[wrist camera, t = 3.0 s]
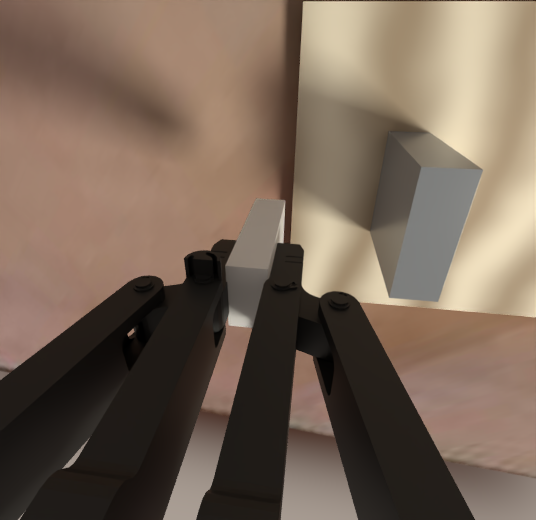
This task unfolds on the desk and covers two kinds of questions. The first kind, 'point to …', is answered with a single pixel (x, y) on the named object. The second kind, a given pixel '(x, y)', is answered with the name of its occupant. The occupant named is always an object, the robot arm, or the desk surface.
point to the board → (418, 120)
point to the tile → (420, 212)
